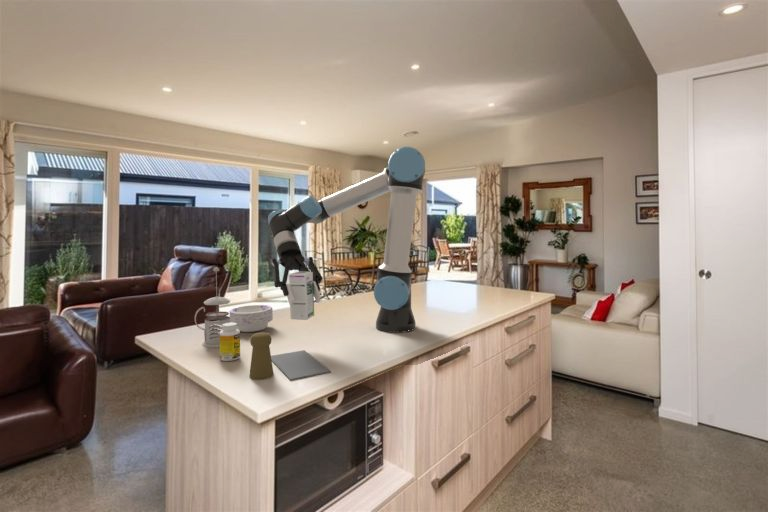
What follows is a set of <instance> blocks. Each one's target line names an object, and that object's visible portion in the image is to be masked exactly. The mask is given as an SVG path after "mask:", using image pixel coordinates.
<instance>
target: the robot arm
mask: <svg viewBox="0 0 768 512" xmlns="http://www.w3.org/2000/svg"><path fill="white" fill-rule="evenodd" d="M387 163H388V164H387V167H385V168H384V169H383V171H382V172H380V173H378V174H376V175H373V176H371V177H369V178H366V179H364V180H362V181H360V182H358V183H355V184H353V185H350V186H348V187H346V188H344V189H342V190H339V191H337V192H335V193H333V194H330V195H328V196H326V197H323V198H322V199H319V200H317V199H316V198H315V197H314V196H313V195H308V196H305V197H304V198H302V199H301V200H300V201H298V202H297V203H295V204H294V205H292V206H291V207H290V208H289V209H287V210H282V209H277V210H273V211H271V213H269V214H268V217H267V222H268V227H269V228H268V229H269V230H270V233H271V236H272V240H273V243H274V247H275V249H276V253H277V256H278V259H277V258H273V259H272V261H271V264H270V265H271V268H272V269H273V284H274V287H275V288H279V289H280V291H282V293H283V295H284V297H287V301H288V303H289V306H293V303H294V298H293V295H292V291H291V288H290V285H289V283H287V281H288V278H289V272H290V271H297V272H300V271H309V272H313V294H314V299H315V300H314V301H315V302H316V303H317V304H319V303H320V302H321V298H322V296H321V293H320V292H321V287H320V284H321V282H322V281H323V276H322V274H321V273H320V270H319V269H318V267H317V266H316V264H315V262H314V260H313V259H314V258H313V257H312V256H309V257H308V258H307V257H304V256H303V253H302V250H301V247H300V245H299V242H298V239H297V237H296V236H297V235H296V233H295V232H296V231H297V230H299V229H300V228H302V227H303V226H305V225H306V224H315V225H316V224H321V223H323V222H324V221H325V220H327V219H329V218H331V217H334V216H336V215H338V214H341V213H343V212H345V211H348V210H351V209H352V208H355V207H357V206H359V205H361V204H363V203H366V202H368V201H371V200H373V199H375V198H378V197H380V196H383V195H385V194H387V193H390V201H389V203H390V204H389V210H388V218H387V219H388V220H387V227H386V235H385V236H386V237H385V245H384V252H383V260H382V261H383V262H382V263H381V264H380V265H379V266H378V267H377V274H376V275H377V276H376V283H375V285H374V288H373V297H374V299H375V302H376V303H377V304H378V305H379V306H380V308H379V312H378V314H377V318H376V321H375V328H376V329H377V330H379V331H382V332H386V333H387V332H388V333H404V332H403V331H407V332H409V331H408V330H411V331H413V330H412V329H414V328H415V329H416V318H415V316H414V313H413V310H412V277H413V274H412V273H413V272H412V269H411V268H410V266H409V262H410V252H411V245H412V244H411V243H412V237H413V226H414V218H415V211H416V202H417V196H418V195H419V194H420V193H422V192H423V191H422V190H423V184H424V176H425V173H426V160H425V158H424V156H423V154H422V153H421V152H420V151H419V150H418V149H417V148H415V147H411V146H402V147H398V148H397V149H396V150H395V151H393V152H392V153H391V155H390V157H389V159H388V162H387ZM280 265H281V266H282V267H283V268H284V271H283V277H282V280H281V278H280V267H279V266H280ZM415 329H414V330H415Z"/></svg>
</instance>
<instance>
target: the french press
mask: <svg viewBox="0 0 768 512" xmlns="http://www.w3.org/2000/svg"><path fill="white" fill-rule="evenodd" d="M212 271H213V272H215V289H216V290H215V291H216V294H215V295H216V296H214V297H210V298H208V299H206V300H204V301H203V304H204V305H205V306H216V311H211V312H207V313H206V314H205V316H204V317H206V318H204V327H201V326H200V325H198V323H197V316H198V313H199V312H200V311H201V310H203V312H204V313H205V312H206V308H205V306H201V307H200V308H198V309H197V310H196V311H195V314H194V322H195V325H196V327H197V328H199V329H200V330H203V333H204V341H203V342H202V344H201V345H203V346H202V347H204V346H206V347H205V348H220V341H219V333H220V331H222V324H225V323H230V314H229V313H230V312H229V311H218V306H221V305H227V304H230V302H231V299H228V298H227V297H224V296H219V295H218V283H217V282H218V279H217V273H218V272H220V268H219V267H218V266H215V267H214V268H213V269H212Z"/></svg>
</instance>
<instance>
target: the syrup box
mask: <svg viewBox="0 0 768 512" xmlns="http://www.w3.org/2000/svg"><path fill="white" fill-rule="evenodd" d="M288 282H289V283H288V284H289V285H290V288H291V291H292V295H293V298H294V303H293V306H290V305H289V306H290V307H289V308H290V309H289V310H290V319H291V320H297V321H298V320H300V321H301V320H302V321H308V320H309V319H311V318H312V317H314V316H315V300H314V299H315V297H314V294H313V272H311V271H310V272H309V271H300V272H299V271H295V272H291V273H288Z"/></svg>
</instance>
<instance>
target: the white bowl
mask: <svg viewBox="0 0 768 512" xmlns="http://www.w3.org/2000/svg"><path fill="white" fill-rule="evenodd" d="M228 313H229V314H228V315H229V317H230V323H231V322H232V323H237V329H238V330H239V331H240V333H242V332H243V333H253V332H255V333H256V332H260V331H263V330H265V329H266V328H267V327H268V324H269V323H271V322H272V321H273V319H274V316H273V315H274V314H273V307H272V306H271V305H269V304H268V305H266V304H251V305H249V304H248V305H242V306H237V307H233V308H231V309H230V310H229V312H228Z"/></svg>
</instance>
